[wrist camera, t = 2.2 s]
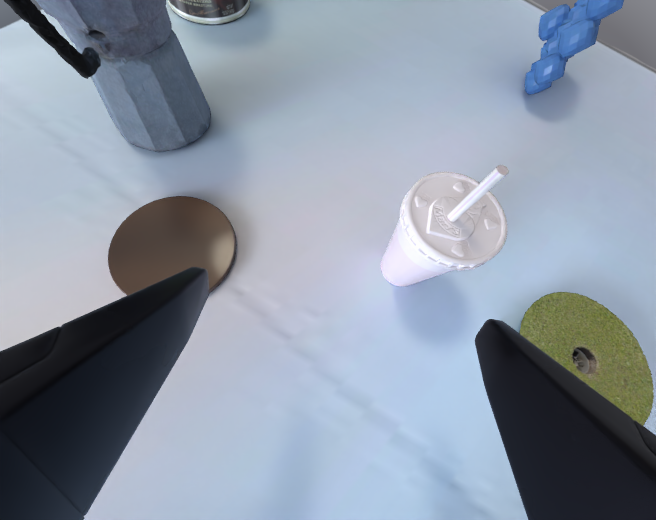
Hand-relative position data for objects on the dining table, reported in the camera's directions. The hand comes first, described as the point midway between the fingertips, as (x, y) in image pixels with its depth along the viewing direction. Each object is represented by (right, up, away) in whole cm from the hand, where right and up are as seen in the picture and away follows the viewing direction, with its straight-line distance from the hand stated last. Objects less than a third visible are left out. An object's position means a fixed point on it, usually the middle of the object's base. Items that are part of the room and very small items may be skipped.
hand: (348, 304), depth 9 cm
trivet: (-14, +2, +15) cm, 20 cm away
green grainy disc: (+20, -7, +15) cm, 26 cm away
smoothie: (+6, +1, +17) cm, 18 cm away
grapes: (+26, +26, +28) cm, 46 cm away
